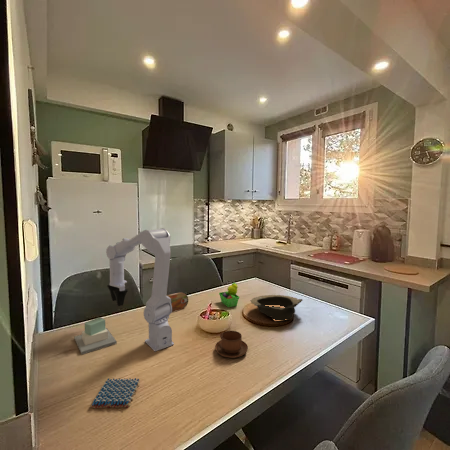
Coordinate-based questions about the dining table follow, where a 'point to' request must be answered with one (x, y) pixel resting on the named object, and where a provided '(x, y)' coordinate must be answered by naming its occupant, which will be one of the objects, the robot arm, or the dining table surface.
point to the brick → (94, 326)
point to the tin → (178, 301)
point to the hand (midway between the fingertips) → (117, 302)
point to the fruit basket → (230, 296)
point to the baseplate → (95, 345)
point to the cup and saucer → (231, 345)
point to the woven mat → (116, 393)
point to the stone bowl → (273, 311)
